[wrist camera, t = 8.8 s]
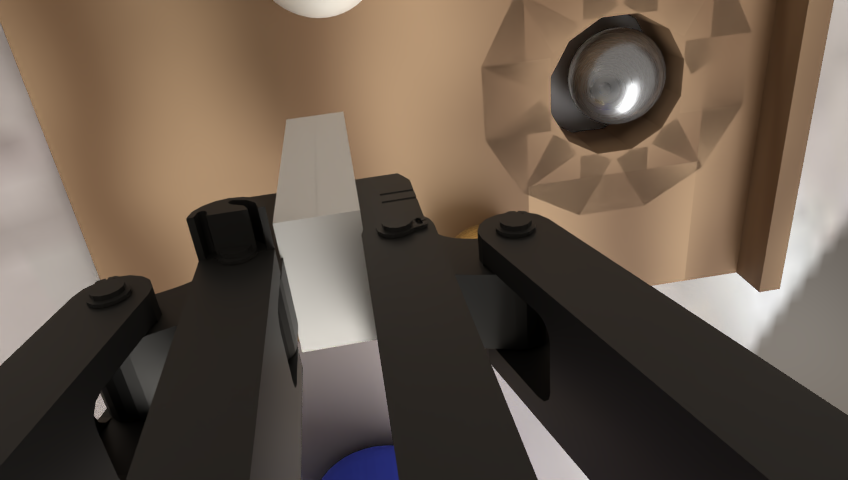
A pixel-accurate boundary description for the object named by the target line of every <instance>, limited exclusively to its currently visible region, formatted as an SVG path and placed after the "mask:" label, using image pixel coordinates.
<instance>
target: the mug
mask: <svg viewBox="0 0 848 480" xmlns="http://www.w3.org/2000/svg"><path fill="white" fill-rule="evenodd" d="M321 480H399V477H398V470H397V464H396V457H395V451H394V445H384V446H375V447H370V448H366V449H362V450H360V451H357V452H354V453H352V454H350V455H348V456H346V457H344V458H343V459H341V460H340V461H338V462H337V463H336V464H335V465H333V466H332V467H331V468H330V469H329V470H328V471H327V473H326V474H325V475H324V476H323V478H322V479H321Z"/></svg>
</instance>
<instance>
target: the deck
mask: <svg viewBox="0 0 848 480" xmlns="http://www.w3.org/2000/svg"><path fill="white" fill-rule="evenodd" d="M833 2H834V0H362V1H361V2H360V3H359V4H357V5H356V6H355V7H353V8H352V9H350V10H348V11H346V12H344V13H342V14H339V15H336V16H332V17H327V18H310V17H305V16H300V15H298V14H295V13H292V12H290V11H288V10H286V9H284V8H283V7H281V6H280V5H278V4H277V3H275V2H274V1H273V0H0V22H1V25H2V27H3V30H4V33H5V35H6V38H7V40H8V43H9V45H10V48H11V51H12V53H13V56H14V58H15V61H16V64H17V66H18V69H19V71H20V74H21V76H22V79H23V82H24V84H25V87H26V89H27V92H28V94H29V97H30V100H31V102H32V105H33V107H34V110H35V113H36V115H37V118H38V120H39V123H40V125H41V128H42V131H43V133H44V136H45V138H46V141H47V144H48V146H49V149H50V151H51V154H52V156H53V159H54V162H55V164H56V167H57V169H58V172H59V174H60V177H61V180H62V182H63V185H64V187H65V190H66V193H67V195H68V198H69V200H70V203H71V205H72V208H73V211H74V213H75V216H76V218H77V221H78V224H79V226H80V229H81V231H82V234H83V236H84V239H85V242H86V244H87V247H88V249H89V252H90V255H91V257H92V260H93V262H94V265H95V267H96V270H97V273H98V275H99V278H100V280H102V279H105V278H106V280H107V279H108V278H109V277H113V276H119V277H120V276H127V275H136V276H143V277H146V278H148V279H150V281H151V283H152V286H153V289H154V292H155V294H157V293H160V292H163V291H166V290H169V289H173V288H176V287H178V286H181V285H184V284H186V283H189V282H191V281H192V280H193V277H194V274H195V271H196V268H197V265H198V262H199V261H198V257H197V254H196V251H195V247H194V244H193V241H192V237H191V234H190V231H189V227H188V224H187V221H186V218H187V217H188V216H189V215H190V213H191V212H193V211H194V210H196V209H198V208H199V207H201V206H203V205H206V204H209V203H212V202H214V201H218V200H223V199H227V198H235V197H253V196H260V195H267V194H273V193H277V186H278V179H279V171H280V164H281V157H282V149H283V142H284V134H285V127H286V120H287V119H294V118H301V117H308V116H315V115H323V114H330V113H337V112H343V113H344V119H345V124H346V130H347V136H348V142H349V148H350V154H351V160H352V166H353V172H354V178H355V179H362V178H368V177H375V176H382V175H388V174H395V173H398V174H400V175H402V176H404V177H406V178H407V179H409V180H410V182H411V184H412V187H413V190H414V192H415V195H416V198H417V200H418V202H419V205H420V208H421V210H422V213H423V215H424V217H427V218H429V219H430V220H431V221H432V222H433V223H434V225H435V227H436V230H437V232H438V234H440V235H442V236H446V237H451V238H455V237H456V236H457V235H458V234H459V233H460V232H462V231H463V230H465V229H467V228H469V227H472V226H475V225H479V224H481V223H482V222H483V221H484V220H486V219H487V218H490V217H492V216H495V215H497V214H503V213H506V212H508V211H516V212H517V211H526V212H528V213H534V214H539V215H541V216H544V217H546V218H548V219H550V220H551V221H553V222H554V223H556V224H558V225H559V226H561V227H562V228H564V229H565V230H567V231H568V232H570V233H571V234H573V235H574V236H576V237H577V238H579V239H580V240H582V241H583V242H585V243H586V244H588V245H589V246H591V247H593V248H594V249H596V250H597V251H599V252H600V253H602V254H603V255H605V256H606V257H608V258H609V259H611V260H612V261H614V262H615V263H617V264H618V265H620V266H621V267H623V268H624V269H626V270H628V271H629V272H631V273H632V274H634V275H635V276H637V277H638V278H640V279H641V280H643V281H644V282H646V283H647V284H649V285H650V286H652V285H659V284H665V283H671V282H678V281H684V280H691V279H697V278H703V277H710V276H716V275H722V274H729V273H735V272H737V273H738V274H739V275H740V276H741V277H742V278H744V279H745V280H746V281H747V282H748V283H749V284H751V285H752V286H753V287H754V288H755V289H756V290H758V291H759V292H763V291H769V290H775V289H780V284H781V279H782V273H783V268H784V263H785V258H786V252H787V247H788V242H789V236H790V231H791V226H792V220H793V215H794V210H795V204H796V199H797V194H798V188H799V183H800V178H801V172H802V167H803V162H804V156H805V151H806V146H807V140H808V135H809V130H810V124H811V119H812V114H813V108H814V103H815V98H816V92H817V87H818V82H819V77H820V71H821V66H822V61H823V55H824V50H825V45H826V39H827V34H828V29H829V23H830V18H831V13H832V7H833ZM625 14H628V15H630V16H632V17H634V18H636V20H637V22H638V24H639V26H640V28H641V29H642V31H643V33H644V34H646V35H647V36H649V37H650V38H651V39H652V40H653V41H654V42H655V43H656V44H657V46H658V47H659V49H660V50H661V52H662V55H663V57H664V61H665V66H666V79H665V84H664V88H663V90H662V93H661V95H660V97H659V99H658V100H657V102H656V103H655V104H654V105H653V107H652V108H651V109H650V110H649V111H647V112H646V113H645V114H644V115H642V116H641V117H639V118H637V119H635V120H632V121H630V122H627V123H622V124H609V125H608V126H606V127H605V128H603V129H596V130H588V131H581V132H574V133H573V132H570V131H568V130H566V129H564V128H561V127H559V126H558V124H557V123H556V121H555V119H554V118H553V116H552V115H551V75H552V73H553V71H554V70H555V68H556V66H557V64H558V62H559V60H560V58H561V56H562V54H563V52H564V50H565V48H566V46H567V44H568V42H569V41H570V40H572V39H573V38H574V37H576V36H577V35H578V34H580V33H581V32H583V31H584V30H585V29H587V28H588V27H589V26H591V25H592V24H593V23H595V22H596V21H597V20H599V19H600V18H602V17H609V16H617V15H625ZM298 341H300V340H299V336H298Z"/></svg>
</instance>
